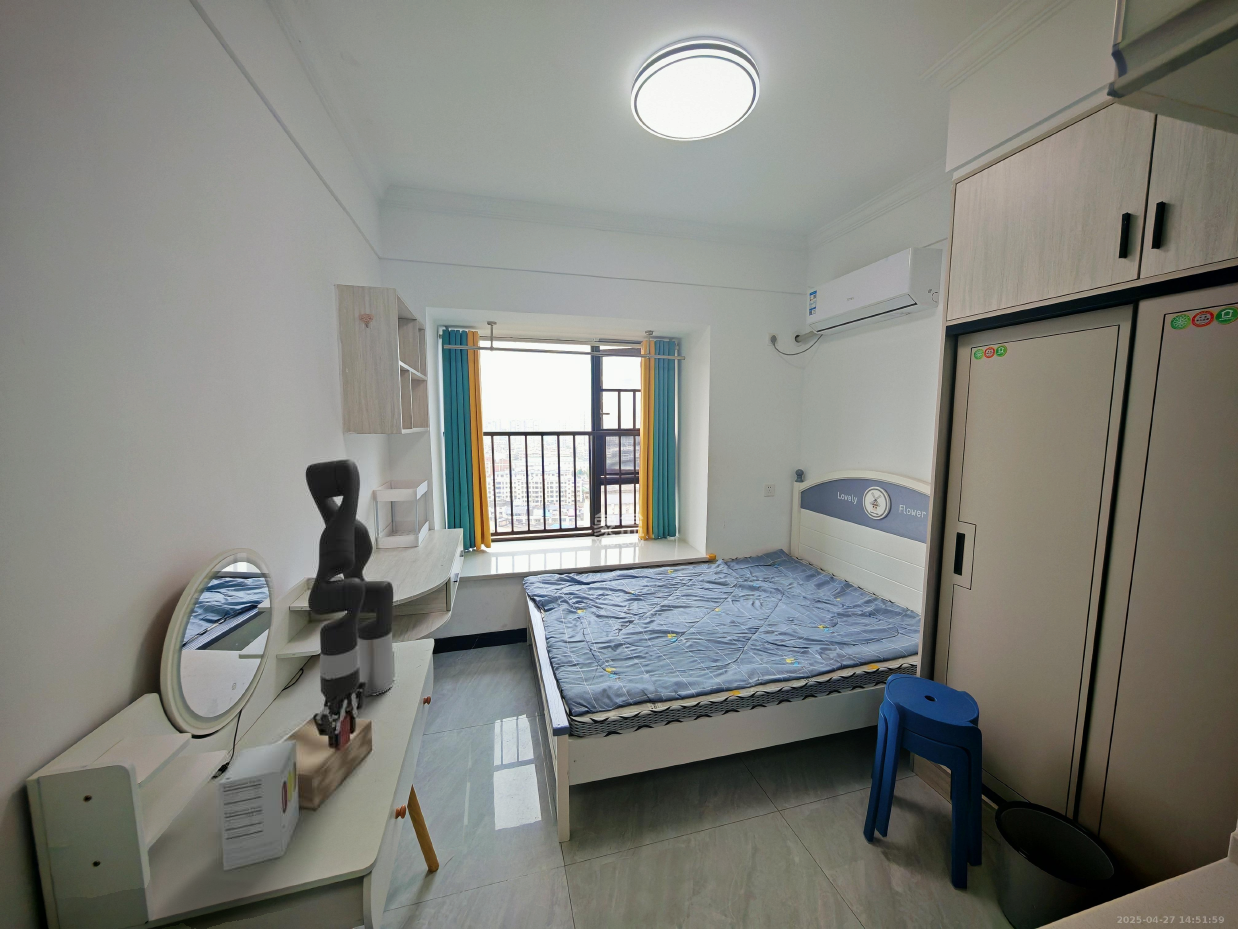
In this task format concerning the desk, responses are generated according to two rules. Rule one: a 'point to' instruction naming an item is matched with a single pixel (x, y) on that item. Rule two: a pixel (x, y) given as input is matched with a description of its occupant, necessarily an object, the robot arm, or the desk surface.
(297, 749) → the lid
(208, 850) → the desk surface
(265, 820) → the supplement box
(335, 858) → the desk surface
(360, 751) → the mailer base
